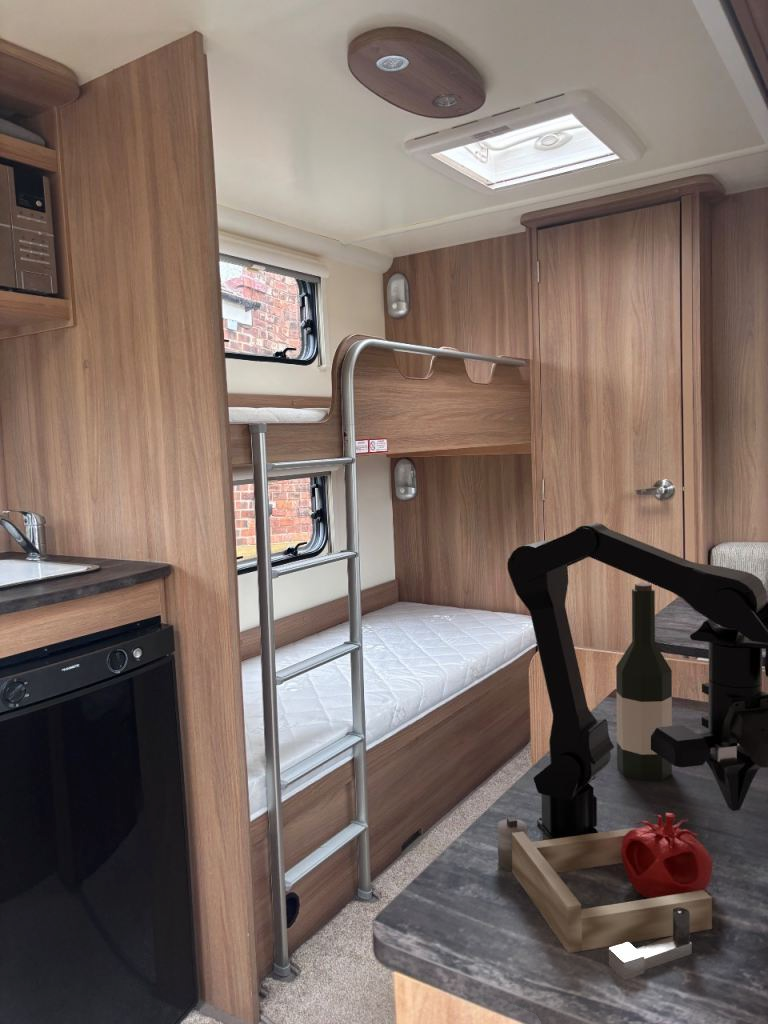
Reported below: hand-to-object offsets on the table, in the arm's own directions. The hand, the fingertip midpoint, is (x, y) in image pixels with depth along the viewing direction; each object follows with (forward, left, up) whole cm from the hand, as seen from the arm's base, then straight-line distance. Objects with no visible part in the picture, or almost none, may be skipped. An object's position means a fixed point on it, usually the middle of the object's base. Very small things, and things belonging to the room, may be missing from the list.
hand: (733, 809), depth 92 cm
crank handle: (-17, -11, -9) cm, 22 cm away
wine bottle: (+6, +31, -9) cm, 33 cm away
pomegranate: (-9, 0, -9) cm, 13 cm away
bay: (-17, +2, -8) cm, 19 cm away
